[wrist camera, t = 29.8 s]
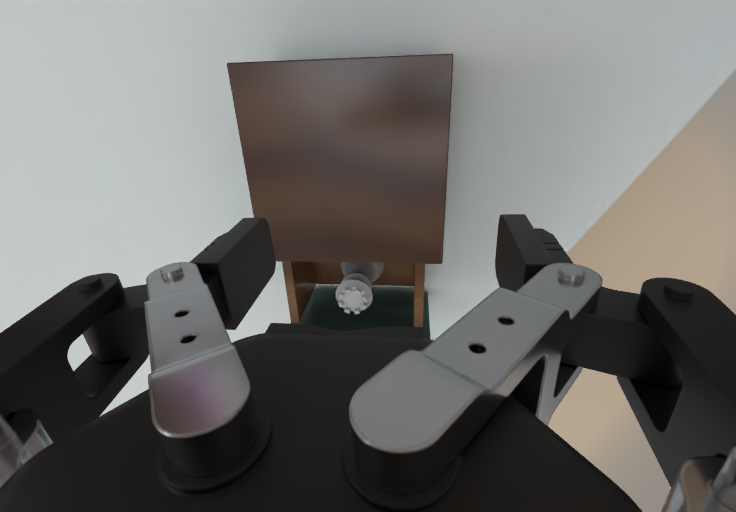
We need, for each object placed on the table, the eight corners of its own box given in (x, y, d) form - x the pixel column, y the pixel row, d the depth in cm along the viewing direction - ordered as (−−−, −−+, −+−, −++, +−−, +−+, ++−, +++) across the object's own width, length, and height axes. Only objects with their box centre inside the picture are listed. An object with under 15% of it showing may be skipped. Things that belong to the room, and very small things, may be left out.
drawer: (425, 342, 46) (428, 397, 38) (312, 338, 47) (293, 390, 40) (431, 180, 37) (436, 210, 30) (293, 181, 39) (264, 210, 31)
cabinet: (436, 217, 40) (442, 264, 31) (294, 216, 41) (261, 261, 32) (443, 54, 33) (453, 53, 24) (274, 61, 35) (226, 63, 26)
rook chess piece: (382, 237, 39) (375, 277, 32) (387, 276, 41) (381, 322, 34) (338, 240, 40) (321, 281, 33) (345, 279, 42) (331, 324, 35)
